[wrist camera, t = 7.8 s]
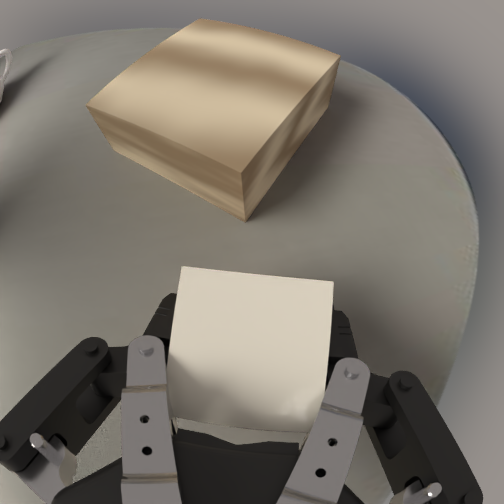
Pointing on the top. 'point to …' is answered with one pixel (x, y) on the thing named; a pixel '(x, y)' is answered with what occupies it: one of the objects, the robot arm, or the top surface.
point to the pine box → (218, 109)
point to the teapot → (8, 55)
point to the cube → (249, 349)
